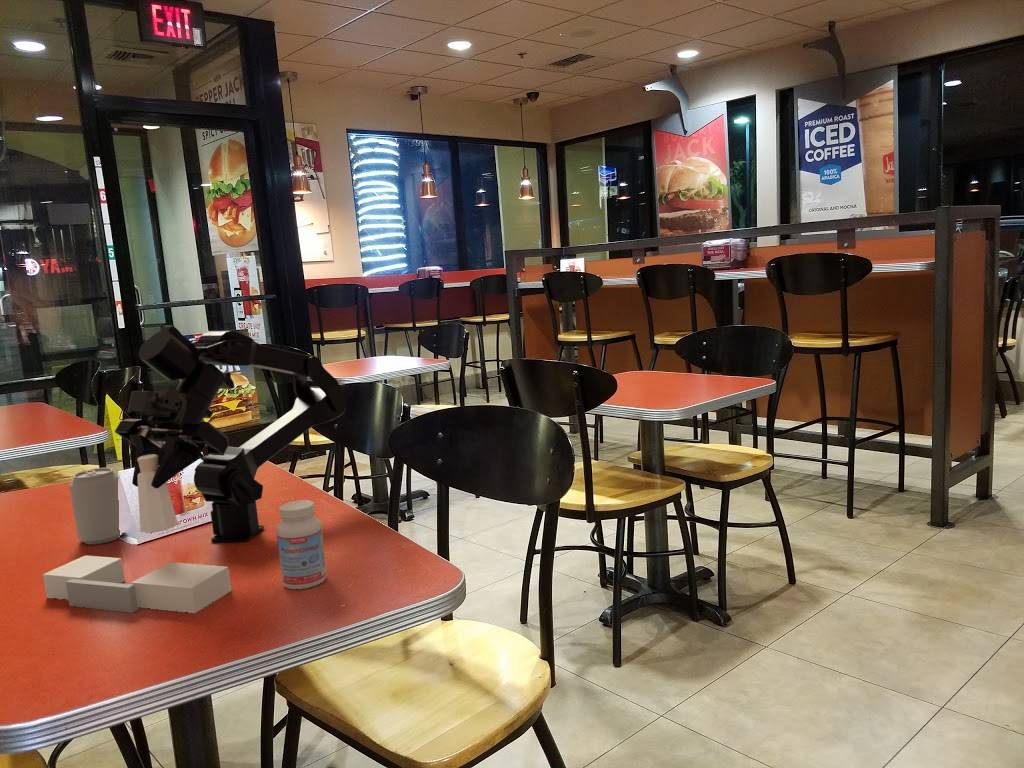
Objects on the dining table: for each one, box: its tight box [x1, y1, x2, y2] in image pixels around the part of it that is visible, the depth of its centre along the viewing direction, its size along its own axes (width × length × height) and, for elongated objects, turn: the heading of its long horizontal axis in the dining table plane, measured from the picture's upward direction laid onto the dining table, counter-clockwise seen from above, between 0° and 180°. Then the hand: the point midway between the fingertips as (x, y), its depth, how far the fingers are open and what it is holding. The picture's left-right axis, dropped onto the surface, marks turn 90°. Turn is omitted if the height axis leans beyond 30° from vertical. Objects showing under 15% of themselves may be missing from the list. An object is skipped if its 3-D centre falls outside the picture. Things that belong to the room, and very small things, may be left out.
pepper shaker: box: [137, 454, 178, 534], centre depth 113 cm, size 5×5×11 cm
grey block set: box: [42, 555, 232, 614], centre depth 105 cm, size 26×8×4 cm, turn 71°
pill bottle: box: [276, 499, 327, 590], centre depth 105 cm, size 6×6×11 cm
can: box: [69, 467, 120, 545], centre depth 130 cm, size 8×8×12 cm
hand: (144, 486), depth 112 cm, fingers closed on pepper shaker, 4 cm apart
